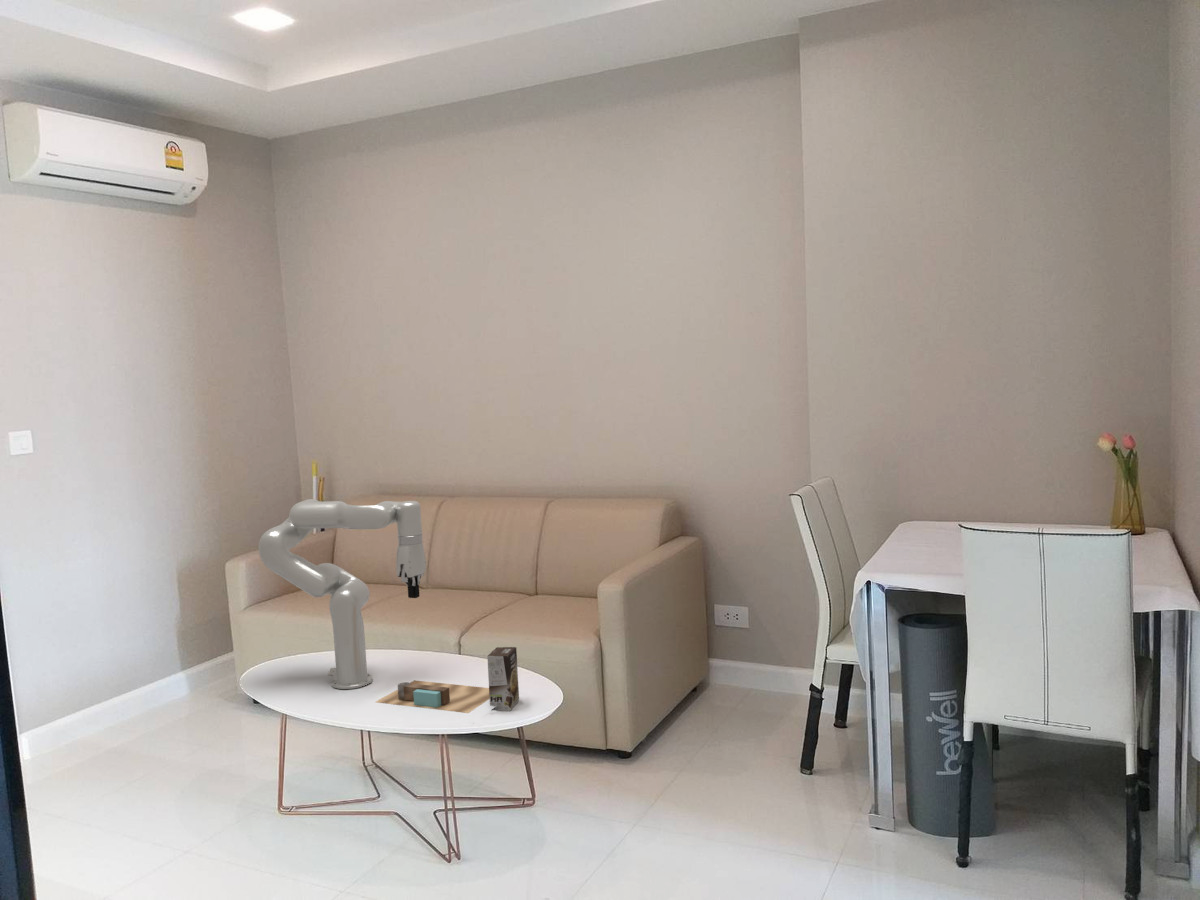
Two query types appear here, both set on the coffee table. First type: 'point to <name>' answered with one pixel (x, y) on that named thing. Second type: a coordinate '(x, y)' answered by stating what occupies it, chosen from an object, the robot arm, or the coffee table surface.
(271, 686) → the coffee table surface
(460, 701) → the stool top
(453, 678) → the coffee table surface
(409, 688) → the folding leg
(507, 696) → the coffee box
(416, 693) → the stop block
